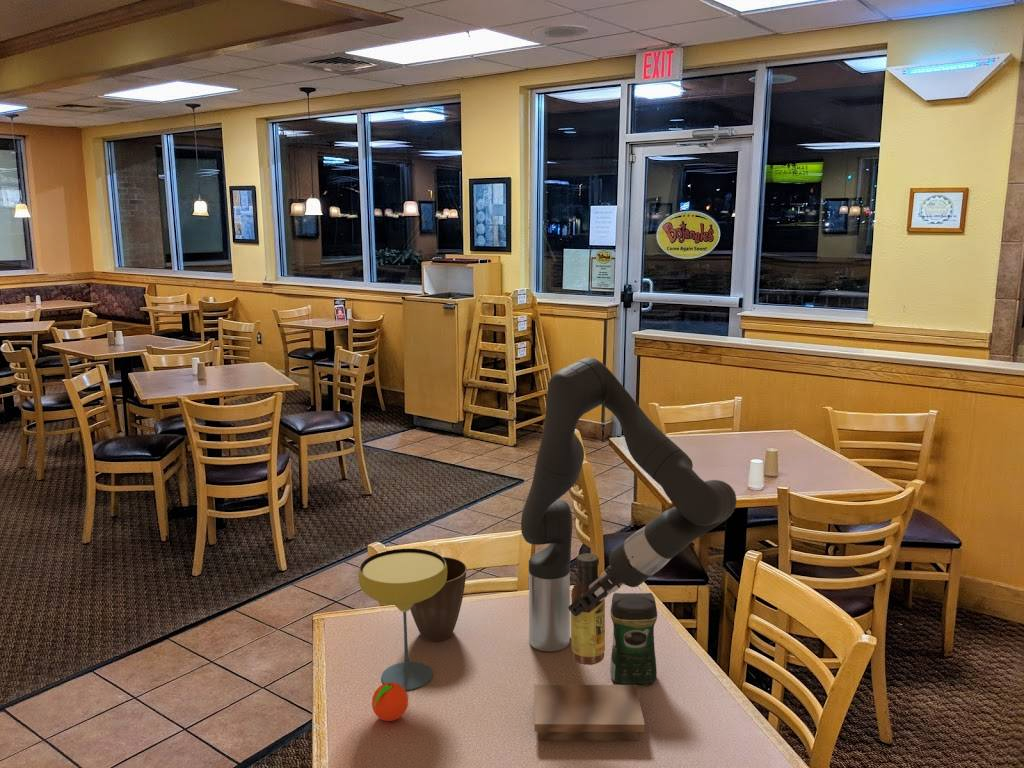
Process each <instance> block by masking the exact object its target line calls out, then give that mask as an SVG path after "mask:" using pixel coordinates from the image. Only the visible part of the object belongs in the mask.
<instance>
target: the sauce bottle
mask: <svg viewBox="0 0 1024 768" xmlns="http://www.w3.org/2000/svg"><path fill="white" fill-rule="evenodd" d="M599 560H600V559H599V556H598V555H597V554H595V553H588V552H586V553H581V554H578V555H577V556H576V565H577V566H576V567H577V576H576V578H577V581H576V582H575V584H574V585H573V587H572V589H571V593H570V598H571V604H572V603H573V602H575V601H576V600H577V599H578V598H579V597H580V596H581V594H584V593H585V592H586V591H587V590H589V586H590V584H591V583H593V582H594V581H595V580H596V579H597V578H599V573H598V572H599V571H598V570H599V569H598V568H599V567H598V566H599V564H600V563H599V562H600V561H599ZM605 611H606V598H605V599H603V600H602V601H598V602H597V603H596V604H594V605H593V606H592V607H591V608H590V609H588V610H586V609H585V610H584V611H583V612H581V613H580V614H579V615H577V616H574V615H573V614H572V613H571V612H570V630H571V631H570V636H571V638H570V639H571V640H570V644H571V652H572V653H571V656H572V660H574V661H575V662H576V663H578V664H579V665H588V666H592V665H593V666H594V665H597V664H598V663H599V664H600V663H601V662H602V661H603V660H604V658H605V650H606V612H605Z"/></svg>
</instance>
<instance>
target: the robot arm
mask: <svg viewBox="0 0 1024 768" xmlns="http://www.w3.org/2000/svg"><path fill="white" fill-rule="evenodd" d="M545 403H546V404H545V416H544V424H543V429H542V435H541V440H540V444H539V448H538V452H537V455H536V460H535V465H534V472H533V477H532V483H531V486H530V490H529V492H528V494H527V496H526V500H525V503H524V505H523V510H522V513H521V521H520V530H521V531H520V532H521V534H522V535H521V536H522V537H523V539H524V541H525V542H526V543H528V544H530V545H538V546H540V545H548V546H547V547H545V548H544V549H542V550H539V551H538V552H536V553H534V554H532V556H530V558H529V559H528V642H529V645H530V646H531V647H532V648H534V649H535V650H537V651H542V652H558V651H562V650H564V649H566V648H567V647H568V646H569V645H570V643H571V640H570V639H571V638H570V636H571V631H570V630H571V613H572V614H573V615H574V616H577V615H579V614H580V613H581V612H583V611H584V610H585V609H586V610H588V609H590V608H591V607H592V606H593V605H594V604H596V603H597V602H598V601H602V600H603V599H605V600H606V598H607V597H609V595H611V594H612V593H616V592H617V591H618V590H619V589H620V588H622V587H621V586H622V585H625V586H627V587H629V588H637V587H639V586H640V585H642V584H643V583H644V582H646V581H647V580H648V579H649V578H651V577H652V576H653V575H654V574H656V573H657V572H659V571H660V570H661V569H663V568H664V567H665V566H666V565H667V564H668V563H669V562H670V560H672V559H673V558H674V557H675V556H677V555H679V553H681V552H682V551H683V550H685V549H686V548H687V547H688V546H689V545H690V544H691V543H692V542H694V541H696V540H697V539H698V538H700V537H701V536H703V535H705V534H707V533H708V532H710V531H712V530H713V529H714V528H717V527H718V526H719V525H721V524H722V523H723V522H725V521H727V520H728V519H729V518H730V517H731V516H732V515H733V513H734V512H735V509H736V506H737V495H736V492H735V489H734V488H733V487H732V486H731V485H730V484H728V483H727V482H726V481H724V480H723V481H722V480H719V479H709V480H705V481H704V480H703V479H702V478H701V477H700V476H699V475H698V474H697V473H696V472H695V471H694V470H693V466H694V465H693V464H694V463H693V461H692V459H691V457H689V455H688V454H687V453H686V452H685V451H683V450H682V448H680V447H679V446H678V445H677V444H676V443H675V442H673V440H672V439H670V438H669V437H668V436H667V435H666V434H664V432H663V431H662V430H661V429H660V428H658V427H657V426H656V425H655V424H654V423H653V422H652V420H651V419H650V418H649V417H648V415H647V414H646V413H645V412H644V411H643V410H642V408H641V407H640V405H639V404H638V403H637V401H635V399H634V398H633V397H632V395H631V394H630V393H629V392H628V391H627V389H626V388H625V387H624V385H623V384H622V383H621V382H620V381H619V379H618V378H617V376H616V375H614V373H613V372H612V371H611V370H610V369H609V368H608V367H607V366H606V365H605V364H604V363H603V362H601V361H600V360H599V359H597V358H594V357H585V358H582V359H579V360H577V361H575V362H572V363H571V364H569V365H567V366H565V367H563V368H560V369H559V370H557V371H556V372H555V373H554V374H553V375H552V376H551V377H550V379H549V382H548V386H547V391H546V402H545ZM601 405H602V406H603V407H605V409H608V411H610V412H611V413H612V415H614V416H615V418H616V419H617V421H618V423H619V425H620V427H621V430H622V433H623V436H624V440H625V441H624V442H625V443H626V447H627V450H628V452H629V453H630V456H631V457H632V460H633V461H634V462H635V463H636V464H637V465H638V466H639V467H640V468H641V469H642V470H643V471H644V472H645V473H646V474H647V475H648V476H650V478H651V479H653V481H655V482H656V483H657V484H658V485H660V487H661V488H662V490H663V492H664V493H665V495H666V497H667V498H668V499H669V501H670V502H671V503H672V505H673V506H674V507H672V508H669V509H666V510H665V511H663V512H662V513H660V514H659V515H657V516H655V517H654V519H652V520H651V521H649V522H647V524H646V525H645V526H643V527H642V528H639V529H638V530H636V531H635V532H634V533H632V534H631V535H630V536H629V537H628V538H626V539H625V540H624V541H623V542H621V543H620V544H619V545H618V546H617V547H616V548H614V549H613V550H611V552H610V553H609V556H608V563H609V566H607V567H606V569H605V570H604V571H603V572H601V573H600V575H599V576H598V578H597V579H596V580H595V581H594V582H593V583H591V584H590V586H589V590H587V591H586V592H585V593H584V594H581V596H580V597H579V598H578V599H577V600H576V601H575V602H573V603H572V602H571V591H570V590H571V573H570V572H571V559H572V539H573V538H572V536H573V515H572V510H571V507H570V505H569V504H568V502H566V500H559V499H560V498H561V497H563V496H564V495H565V494H566V493H568V492H569V491H570V490H571V489H572V488H573V487H574V486H575V484H576V483H577V481H578V480H579V477H580V475H581V471H582V467H583V464H584V457H585V450H584V447H583V444H582V442H581V441H580V439H579V437H578V435H576V433H575V431H576V427H577V425H578V422H579V420H581V419H580V418H581V417H582V416H583V415H585V414H587V413H589V412H590V411H592V410H595V409H596V408H598V407H599V406H601Z"/></svg>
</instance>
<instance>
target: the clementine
mask: <svg viewBox="0 0 1024 768" xmlns="http://www.w3.org/2000/svg"><path fill="white" fill-rule="evenodd" d="M408 706H409V697H408V693H407V690H405V689H404V688H403V687H402V686H401V685H399V684H396V683H392V682H390V683H385V684H383V683H382V685H379V687H378V688H377V689H376V690H375V691H374V693H373V695H372V700H371V708H372V711H373V713H374V714H375V716H377V717H378V719H380V720H381V721H385V722H394V721H396V720H398V719H400V718H401V717H402V716H403V715H404V714H405V713H406V711H407V710H408Z"/></svg>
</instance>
